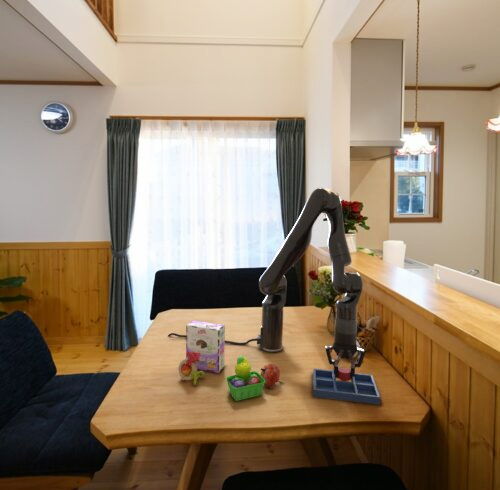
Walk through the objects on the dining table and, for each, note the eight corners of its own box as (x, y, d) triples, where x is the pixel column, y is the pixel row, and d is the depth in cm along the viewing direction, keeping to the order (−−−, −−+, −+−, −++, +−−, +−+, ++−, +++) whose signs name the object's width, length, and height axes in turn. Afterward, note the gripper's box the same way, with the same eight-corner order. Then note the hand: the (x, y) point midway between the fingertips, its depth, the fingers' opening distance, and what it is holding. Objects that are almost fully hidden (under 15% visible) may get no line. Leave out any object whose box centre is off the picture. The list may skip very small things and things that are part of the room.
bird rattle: (179, 390, 119) (202, 385, 116) (168, 359, 119) (190, 353, 117) (188, 381, 125) (209, 375, 122) (177, 352, 125) (198, 345, 123)
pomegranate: (273, 383, 125) (252, 369, 123) (286, 368, 124) (265, 353, 123) (277, 398, 118) (254, 382, 116) (291, 382, 117) (268, 366, 115)
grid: (313, 396, 114) (313, 389, 114) (313, 374, 128) (313, 368, 128) (380, 404, 110) (380, 397, 110) (372, 381, 124) (372, 374, 124)
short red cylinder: (338, 380, 120) (338, 372, 120) (337, 373, 125) (337, 366, 124) (351, 381, 120) (351, 373, 119) (349, 375, 124) (349, 367, 124)
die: (355, 364, 138) (366, 342, 140) (335, 351, 139) (347, 329, 142) (349, 362, 146) (360, 341, 148) (330, 350, 147) (341, 329, 150)
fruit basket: (233, 404, 108) (234, 369, 108) (224, 389, 116) (224, 357, 116) (265, 396, 113) (266, 363, 112) (254, 383, 121) (255, 351, 120)
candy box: (224, 366, 132) (225, 324, 131) (218, 374, 126) (219, 330, 126) (192, 360, 137) (193, 319, 136) (185, 367, 131) (185, 324, 130)
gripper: (365, 326, 124) (363, 373, 125) (324, 323, 126) (322, 369, 127) (368, 335, 116) (366, 384, 117) (325, 331, 119) (323, 379, 120)
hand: (343, 376), depth 122 cm, fingers closed on short red cylinder, 4 cm apart
